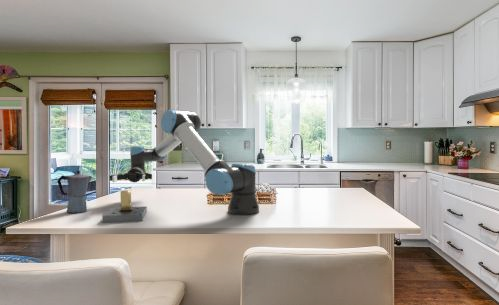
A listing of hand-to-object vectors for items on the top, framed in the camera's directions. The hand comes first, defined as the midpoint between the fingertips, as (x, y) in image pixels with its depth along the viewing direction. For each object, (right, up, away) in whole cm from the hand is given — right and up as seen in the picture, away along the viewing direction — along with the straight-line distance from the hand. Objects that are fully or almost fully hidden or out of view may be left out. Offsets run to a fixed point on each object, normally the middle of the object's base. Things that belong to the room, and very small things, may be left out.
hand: (128, 178), depth 153 cm
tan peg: (+3, -17, -9) cm, 19 cm away
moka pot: (-26, -16, +2) cm, 31 cm away
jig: (+3, -17, -9) cm, 19 cm away
